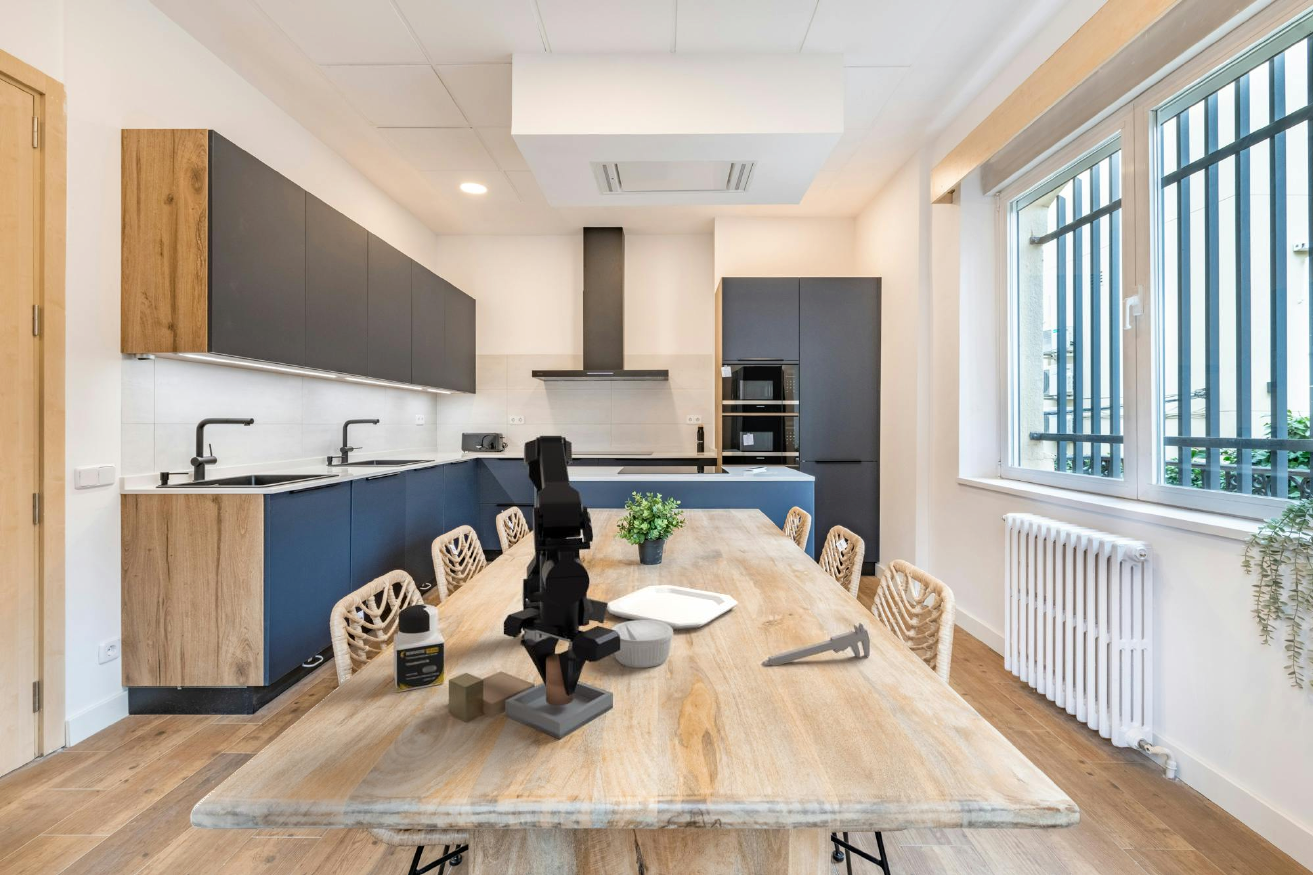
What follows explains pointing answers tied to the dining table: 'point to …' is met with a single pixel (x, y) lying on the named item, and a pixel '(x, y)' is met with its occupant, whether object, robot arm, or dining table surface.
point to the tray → (558, 709)
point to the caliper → (827, 647)
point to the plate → (672, 606)
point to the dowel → (555, 683)
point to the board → (501, 691)
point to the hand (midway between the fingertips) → (560, 690)
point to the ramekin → (643, 643)
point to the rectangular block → (466, 697)
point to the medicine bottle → (418, 649)
